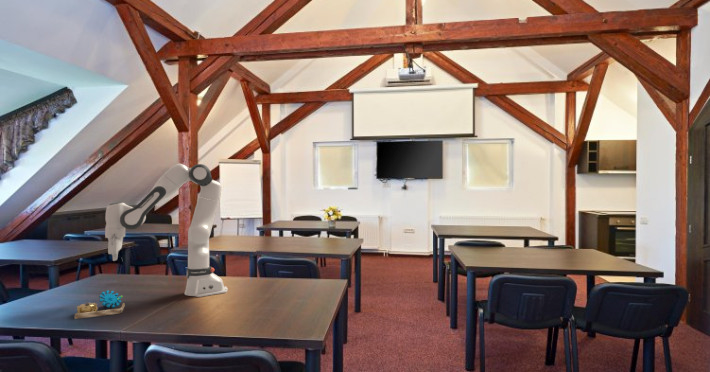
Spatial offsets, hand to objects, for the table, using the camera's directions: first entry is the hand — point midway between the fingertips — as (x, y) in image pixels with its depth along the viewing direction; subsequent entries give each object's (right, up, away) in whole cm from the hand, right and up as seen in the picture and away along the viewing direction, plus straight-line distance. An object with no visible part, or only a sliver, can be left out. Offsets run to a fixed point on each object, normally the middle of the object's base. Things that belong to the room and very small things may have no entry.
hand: (115, 260), depth 193 cm
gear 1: (0, -21, -20) cm, 29 cm away
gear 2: (+4, -21, -10) cm, 24 cm away
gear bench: (+5, -21, -18) cm, 28 cm away
